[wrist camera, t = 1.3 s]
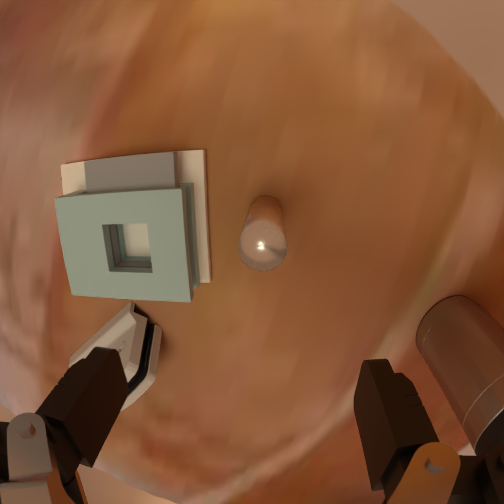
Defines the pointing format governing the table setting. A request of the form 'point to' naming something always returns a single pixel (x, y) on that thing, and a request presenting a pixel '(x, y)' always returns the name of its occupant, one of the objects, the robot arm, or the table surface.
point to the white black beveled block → (129, 349)
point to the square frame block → (136, 226)
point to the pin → (263, 235)
